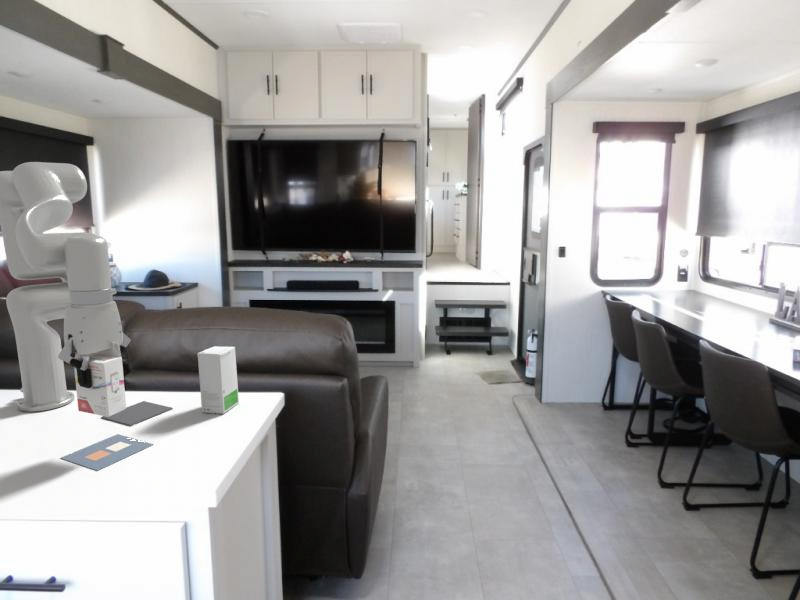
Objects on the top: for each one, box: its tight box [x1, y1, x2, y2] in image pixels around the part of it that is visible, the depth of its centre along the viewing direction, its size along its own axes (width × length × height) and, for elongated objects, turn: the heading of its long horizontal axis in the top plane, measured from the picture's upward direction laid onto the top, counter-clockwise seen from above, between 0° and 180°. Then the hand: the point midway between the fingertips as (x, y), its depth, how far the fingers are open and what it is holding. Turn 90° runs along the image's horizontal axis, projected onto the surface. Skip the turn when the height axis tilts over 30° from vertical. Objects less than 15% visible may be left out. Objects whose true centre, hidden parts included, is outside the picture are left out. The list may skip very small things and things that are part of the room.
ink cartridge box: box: [73, 342, 127, 417], centre depth 111 cm, size 9×5×15 cm, turn 71°
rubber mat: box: [100, 400, 174, 427], centre depth 134 cm, size 11×12×1 cm
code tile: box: [60, 433, 154, 472], centre depth 113 cm, size 12×13×1 cm
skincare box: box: [196, 346, 240, 415], centre depth 136 cm, size 8×7×16 cm
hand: (99, 381), depth 111 cm, fingers closed on ink cartridge box, 5 cm apart
